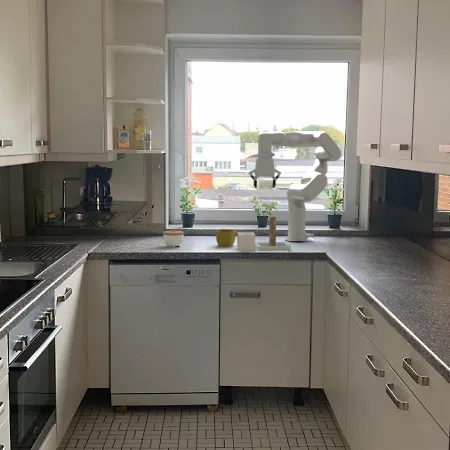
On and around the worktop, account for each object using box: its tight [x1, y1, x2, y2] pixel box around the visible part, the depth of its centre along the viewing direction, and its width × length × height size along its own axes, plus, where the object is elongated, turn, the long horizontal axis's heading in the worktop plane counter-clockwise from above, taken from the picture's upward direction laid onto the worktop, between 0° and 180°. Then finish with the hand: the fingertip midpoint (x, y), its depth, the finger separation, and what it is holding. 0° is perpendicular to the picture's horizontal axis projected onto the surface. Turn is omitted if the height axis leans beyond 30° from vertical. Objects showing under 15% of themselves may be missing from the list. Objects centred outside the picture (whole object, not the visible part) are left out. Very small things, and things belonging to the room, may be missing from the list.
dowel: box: [268, 216, 277, 246], centre depth 326 cm, size 3×3×16 cm
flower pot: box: [215, 228, 237, 248], centre depth 332 cm, size 9×9×9 cm
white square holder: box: [236, 231, 256, 252], centre depth 321 cm, size 8×8×9 cm
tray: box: [255, 241, 292, 252], centre depth 327 cm, size 16×14×3 cm
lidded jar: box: [162, 228, 185, 248], centre depth 335 cm, size 11×11×9 cm
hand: (264, 187), depth 342 cm, fingers open, 9 cm apart
